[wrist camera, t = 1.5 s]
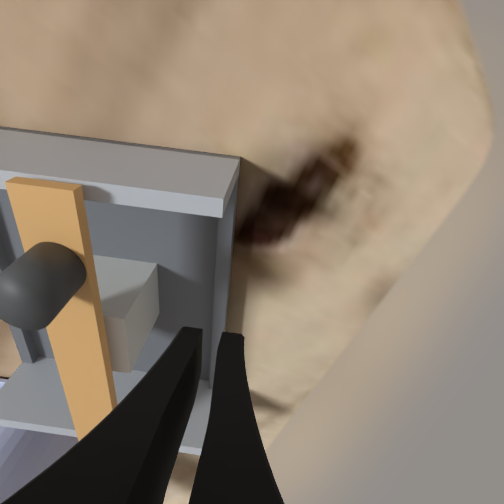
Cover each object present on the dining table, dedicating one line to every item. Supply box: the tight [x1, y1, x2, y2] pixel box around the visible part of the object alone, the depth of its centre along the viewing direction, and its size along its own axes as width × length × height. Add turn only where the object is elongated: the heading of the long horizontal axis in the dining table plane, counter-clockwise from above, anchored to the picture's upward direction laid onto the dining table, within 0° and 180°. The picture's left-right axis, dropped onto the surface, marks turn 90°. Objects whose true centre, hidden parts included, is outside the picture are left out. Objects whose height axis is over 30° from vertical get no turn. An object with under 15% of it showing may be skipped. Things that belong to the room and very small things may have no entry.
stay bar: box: [0, 176, 118, 441], centre depth 16 cm, size 18×2×3 cm, turn 174°
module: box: [93, 255, 160, 374], centre depth 20 cm, size 4×4×5 cm
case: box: [0, 126, 241, 455], centre depth 20 cm, size 18×15×6 cm
